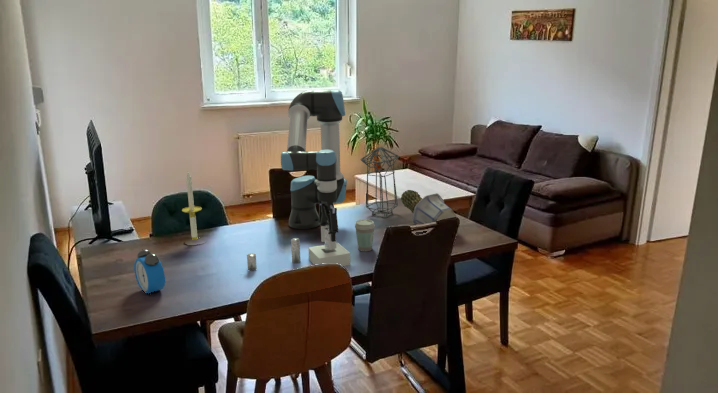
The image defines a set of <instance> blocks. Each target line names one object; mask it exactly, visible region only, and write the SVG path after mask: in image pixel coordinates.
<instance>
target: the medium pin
mask: <svg viewBox="0 0 718 393" xmlns="http://www.w3.org/2000/svg"><path fill="white" fill-rule="evenodd" d="M300 242H301V241H300V238H298V237H294V238H291V239H290V244H291V245H290V246H291V263H293V264H300V263H301V248H300V247H301V244H300Z"/></svg>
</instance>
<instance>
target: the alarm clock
mask: <svg viewBox="0 0 718 393" xmlns="http://www.w3.org/2000/svg"><path fill="white" fill-rule="evenodd" d="M133 270H134V276H135V279H136V282H137V284H138V285H137V286H138V287H139V289H140V288H141V289H143V290H145V292H146V293H148V294H149V293H150V294H152V293H154V291H155V292H157V291H160V290H163V289H164V288H165V286H166V274H165V271H164V267H163V265H162V262H161V260H160V258H159V256H158V254H155V253H152V252H151V251H150V250H149V249H146V248H145V249H141V250H139V251H137V253H136V259H135V260H134V264H133ZM141 289H140V290H141ZM151 292H152V293H151Z"/></svg>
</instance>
